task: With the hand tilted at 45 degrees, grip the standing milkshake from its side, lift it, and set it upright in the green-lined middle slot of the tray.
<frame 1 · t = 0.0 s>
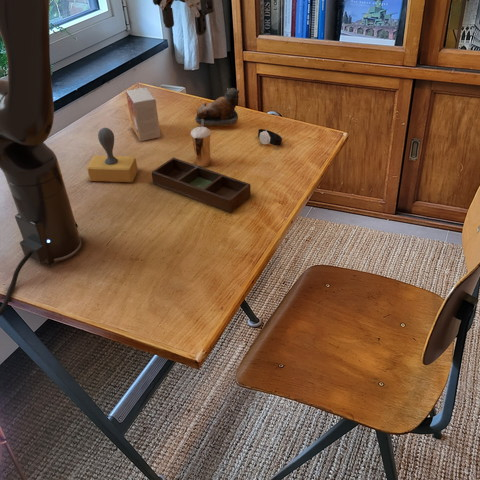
hand: (185, 30, 124), 29 cm above the table, tool pointing down, fingers open, 8 cm apart
watch: (269, 142, 148), on the table
milkshake: (204, 163, 140), on the table
small box: (146, 133, 151), on the table
brown animal figure: (218, 125, 155), on the table
rubber stamp: (114, 176, 136), on the table
tray: (201, 190, 131), on the table
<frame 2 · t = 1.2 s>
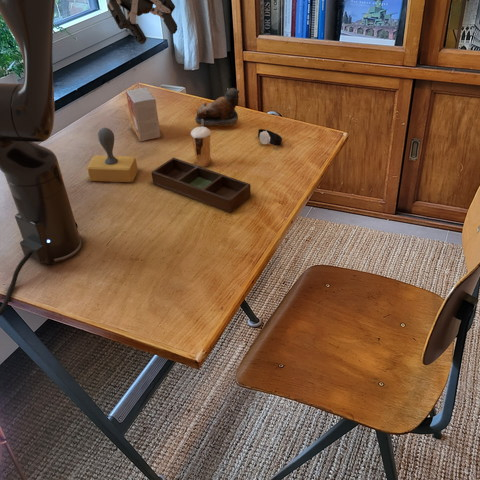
hand: (159, 36, 128), 27 cm above the table, tool tilted 45°, fingers open, 8 cm apart
nothing on the table moved.
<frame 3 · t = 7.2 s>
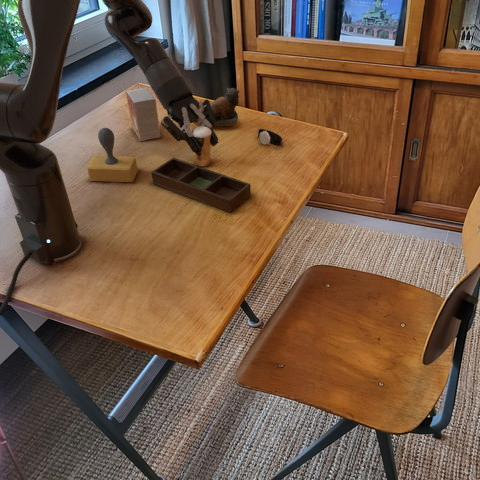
hand: (207, 148, 136), 5 cm above the table, tool tilted 45°, fingers closed on milkshake, 4 cm apart
milkshake: (204, 163, 140), on the table, touching gripper
everything else where it was.
when the fingers open (5 cm above the table, at t = 14.4 s): milkshake stays where it is, resting on tray.
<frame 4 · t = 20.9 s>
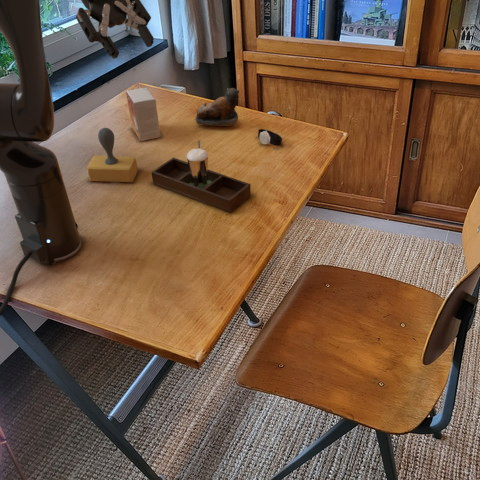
hand: (134, 50, 117), 29 cm above the table, tool tilted 45°, fingers open, 8 cm apart
milkshake: (201, 187, 131), point 1 cm above the table, touching tray
everything else where it was.
at the end: milkshake 0.3 cm off-centre in the tray, point 0.6 cm above the tray's base; milkshake tilted 0°; the gripper is holding nothing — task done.
